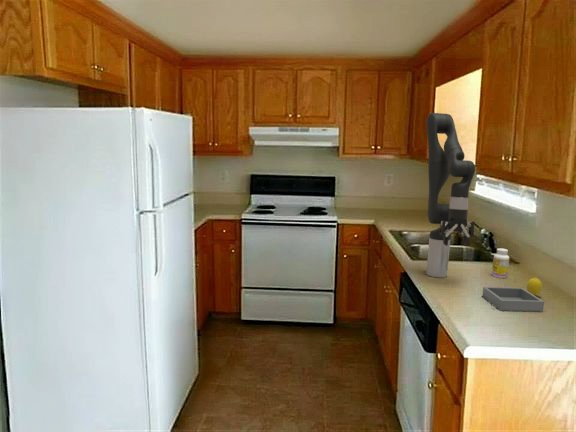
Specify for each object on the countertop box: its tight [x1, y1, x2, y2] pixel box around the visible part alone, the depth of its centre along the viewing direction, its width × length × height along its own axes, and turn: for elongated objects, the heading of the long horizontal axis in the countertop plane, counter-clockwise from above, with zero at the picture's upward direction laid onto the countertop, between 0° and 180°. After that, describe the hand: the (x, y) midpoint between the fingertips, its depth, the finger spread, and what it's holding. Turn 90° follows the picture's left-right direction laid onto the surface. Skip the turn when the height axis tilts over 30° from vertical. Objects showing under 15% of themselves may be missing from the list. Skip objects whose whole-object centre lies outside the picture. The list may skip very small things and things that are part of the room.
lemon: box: [526, 276, 543, 296], centre depth 198 cm, size 6×6×8 cm
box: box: [481, 286, 545, 313], centre depth 188 cm, size 16×16×4 cm
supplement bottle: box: [491, 247, 510, 279], centre depth 225 cm, size 7×7×13 cm
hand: (455, 245), depth 207 cm, fingers open, 8 cm apart
